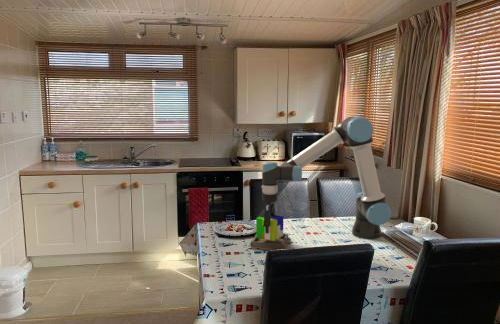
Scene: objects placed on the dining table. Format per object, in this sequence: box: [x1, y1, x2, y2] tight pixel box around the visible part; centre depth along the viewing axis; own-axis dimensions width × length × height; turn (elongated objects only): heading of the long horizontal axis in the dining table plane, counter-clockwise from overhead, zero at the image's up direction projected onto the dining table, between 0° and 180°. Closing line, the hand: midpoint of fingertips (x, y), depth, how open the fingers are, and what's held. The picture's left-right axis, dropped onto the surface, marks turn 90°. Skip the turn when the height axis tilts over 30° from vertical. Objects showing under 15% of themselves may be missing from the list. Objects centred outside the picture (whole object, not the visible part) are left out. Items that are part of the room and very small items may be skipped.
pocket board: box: [247, 233, 291, 251], centre depth 194 cm, size 18×18×3 cm
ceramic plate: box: [213, 220, 256, 237], centre depth 215 cm, size 26×26×3 cm
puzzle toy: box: [255, 214, 284, 241], centre depth 193 cm, size 10×10×10 cm
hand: (269, 235), depth 194 cm, fingers closed on puzzle toy, 11 cm apart
